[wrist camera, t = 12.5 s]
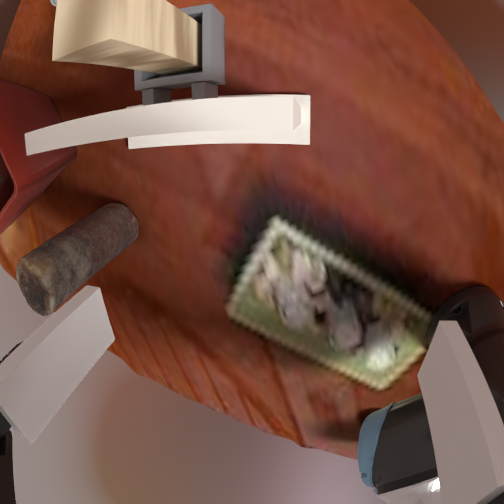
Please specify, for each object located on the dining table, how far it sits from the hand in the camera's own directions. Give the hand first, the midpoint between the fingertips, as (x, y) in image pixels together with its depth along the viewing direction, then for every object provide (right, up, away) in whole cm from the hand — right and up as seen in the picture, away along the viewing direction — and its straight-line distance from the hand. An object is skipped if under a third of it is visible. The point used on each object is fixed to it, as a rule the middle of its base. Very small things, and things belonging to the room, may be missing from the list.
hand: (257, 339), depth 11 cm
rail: (-7, +23, +14) cm, 28 cm away
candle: (-21, +8, +34) cm, 40 cm away
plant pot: (-36, +21, +31) cm, 51 cm away
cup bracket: (-5, +23, +23) cm, 33 cm away
